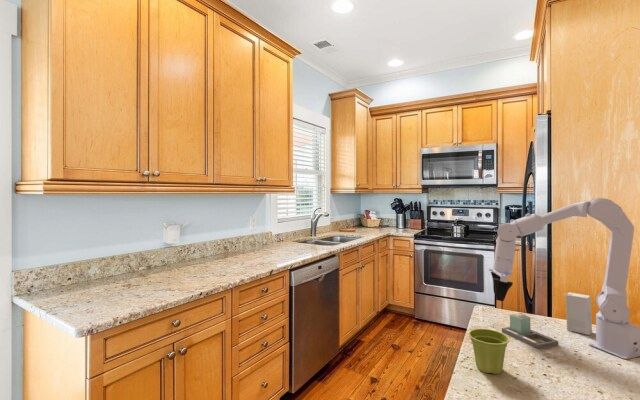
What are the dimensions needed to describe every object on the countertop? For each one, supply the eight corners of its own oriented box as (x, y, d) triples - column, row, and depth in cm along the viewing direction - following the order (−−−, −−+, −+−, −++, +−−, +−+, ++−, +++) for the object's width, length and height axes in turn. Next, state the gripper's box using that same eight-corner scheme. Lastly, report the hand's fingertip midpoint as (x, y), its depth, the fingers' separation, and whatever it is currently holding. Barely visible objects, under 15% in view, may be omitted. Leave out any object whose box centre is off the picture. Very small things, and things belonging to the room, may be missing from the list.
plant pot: (494, 382, 79) (493, 346, 79) (461, 365, 87) (461, 332, 87) (517, 372, 83) (517, 338, 83) (484, 356, 91) (483, 326, 91)
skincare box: (592, 332, 106) (592, 295, 106) (589, 336, 103) (588, 298, 103) (569, 326, 111) (569, 291, 111) (565, 330, 108) (565, 294, 108)
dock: (558, 345, 98) (558, 340, 98) (538, 349, 95) (538, 344, 95) (520, 328, 110) (520, 324, 110) (501, 331, 108) (501, 327, 108)
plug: (530, 336, 104) (530, 315, 104) (520, 337, 103) (520, 317, 103) (519, 331, 108) (519, 311, 108) (510, 332, 107) (509, 313, 107)
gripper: (489, 251, 118) (484, 288, 120) (492, 260, 105) (487, 300, 106) (511, 255, 116) (505, 292, 117) (517, 264, 102) (511, 306, 104)
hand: (498, 296), depth 111 cm, fingers open, 7 cm apart
